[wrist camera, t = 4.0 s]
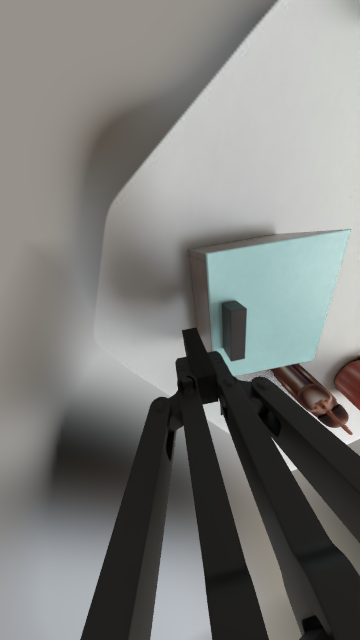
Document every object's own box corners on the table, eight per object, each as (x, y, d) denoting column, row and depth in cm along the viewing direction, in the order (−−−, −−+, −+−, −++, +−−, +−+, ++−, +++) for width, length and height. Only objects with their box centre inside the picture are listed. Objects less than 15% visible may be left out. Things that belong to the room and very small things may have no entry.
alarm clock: (299, 367, 38) (375, 435, 25) (282, 380, 40) (346, 450, 26) (276, 344, 34) (351, 409, 21) (258, 358, 36) (318, 429, 22)
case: (187, 249, 24) (204, 253, 15) (277, 234, 25) (344, 229, 16) (197, 338, 31) (213, 376, 22) (267, 324, 32) (309, 357, 23)
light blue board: (205, 253, 15) (215, 255, 12) (345, 229, 16) (383, 226, 13) (213, 377, 22) (221, 395, 20) (310, 357, 23) (330, 372, 20)
